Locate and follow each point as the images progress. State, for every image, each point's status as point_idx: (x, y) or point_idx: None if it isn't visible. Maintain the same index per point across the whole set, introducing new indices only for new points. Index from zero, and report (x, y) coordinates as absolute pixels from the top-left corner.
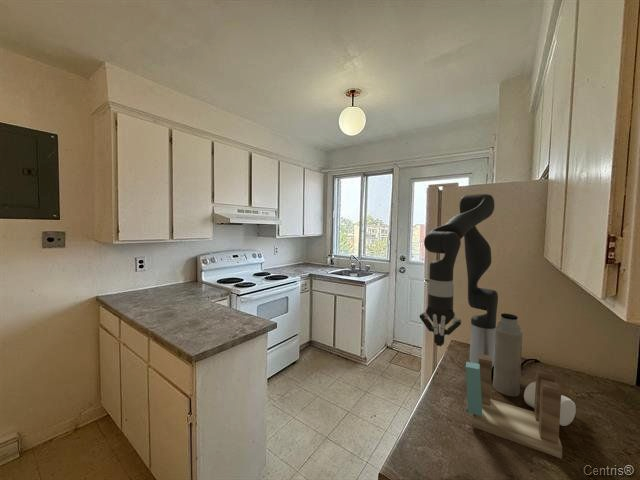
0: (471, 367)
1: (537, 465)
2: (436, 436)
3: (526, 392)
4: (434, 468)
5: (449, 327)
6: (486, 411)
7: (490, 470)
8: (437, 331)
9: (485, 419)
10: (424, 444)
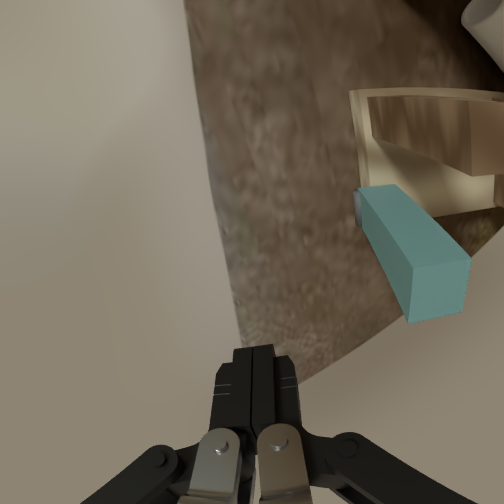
0: (432, 315)
1: (466, 244)
2: (296, 306)
3: (484, 27)
4: (313, 366)
5: (360, 492)
6: (401, 172)
7: (396, 313)
8: (250, 484)
9: None
10: (282, 339)
